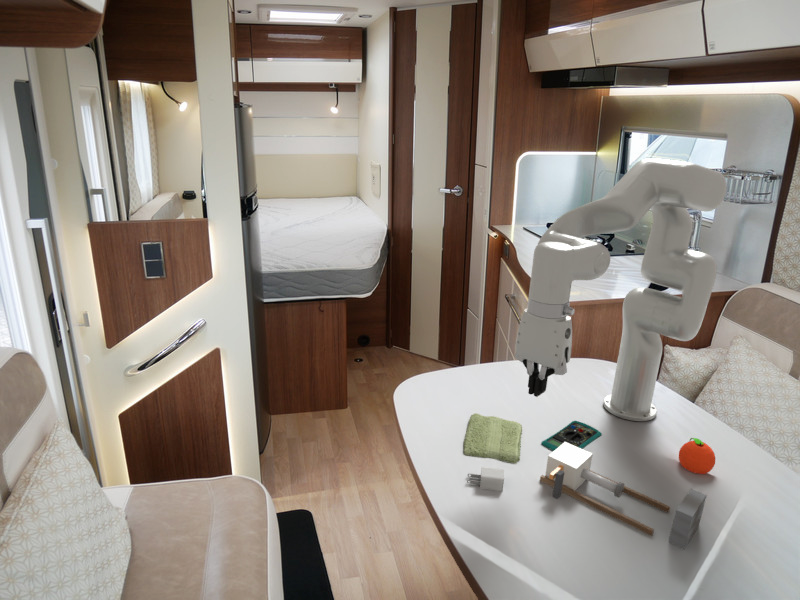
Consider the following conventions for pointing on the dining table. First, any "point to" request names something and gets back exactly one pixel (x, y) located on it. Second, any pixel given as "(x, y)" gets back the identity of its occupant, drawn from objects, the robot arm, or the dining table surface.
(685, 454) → the clementine
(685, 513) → the wooden rail slider
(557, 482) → the dark grey block
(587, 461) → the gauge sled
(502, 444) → the washcloth
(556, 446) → the digital multimeter
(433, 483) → the dining table surface
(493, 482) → the usb wall charger
